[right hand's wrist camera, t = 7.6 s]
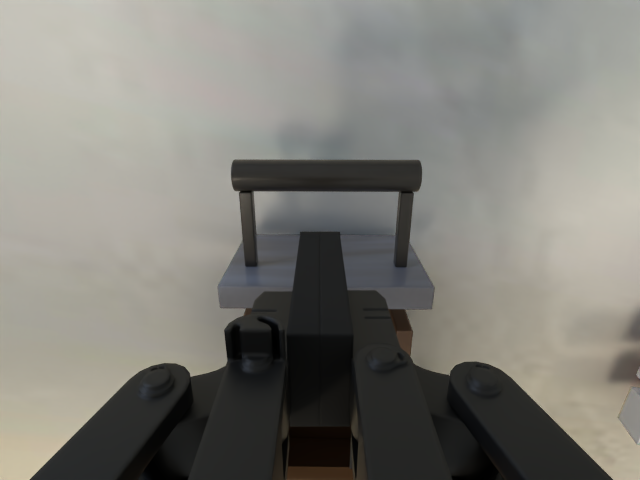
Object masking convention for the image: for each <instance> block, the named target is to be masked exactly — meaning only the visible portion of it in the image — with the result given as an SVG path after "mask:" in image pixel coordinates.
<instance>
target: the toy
mask: <svg viewBox="0 0 640 480" xmlns="http://www.w3.org/2000/svg"><path fill="white" fill-rule="evenodd" d="M636 375H637V377H638V378H639V379H640V367H639V370H638V372H637V374H636ZM618 419H619V420H620V422H621V423H622V424H623V426H624V427H625V429H626V430H627V431H628V433H629V434H630V436H631V437H632V439H633V440H634V441H635V443H636V444H637V445H640V388H637V387H631V388H630V390H629V392H628V395H627V397H626V399H625V402H624V404H623V406H622V409H621V411H620V413H619V415H618Z"/></svg>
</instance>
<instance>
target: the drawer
mask: <svg viewBox="0 0 640 480" xmlns="http://www.w3.org/2000/svg"><path fill="white" fill-rule="evenodd" d="M231 180H232V186H233V189H234V190H235V191H240V192H239V198H240V210H241V223H242V236H243V241H242V242H241V244H240V246H239V248H238V250H237V252H236V253H235V255H234V257H233V259H232V261H231V263H230V265H229V266H228V268H227V270H226V272H225V274H224V276H223V277H222V279H221V281H220V283H219V285H218V295H219V304H220V308H246V310H245V313H244V316H245V315H249V314H251V312H252V307H253V304H254V301H255V299H256V298H257V297H258V296H260V295H261V294H262V293H263V292H264V291H292V290H293V283H294V275H295V268H296V261H297V253H298V246H299V239H300V235H256V221H255V206H254V191H337V192H399V197H398V210H397V223H396V235H340V239H341V246H342V253H343V261H344V268H345V275H346V283H347V290H376V291H377V292H379V293H380V294H381V295H382V296H383V297H384V298H385V299H386V302H387V306H388V311H389V312H390V315H391V319H392V322H393V325H394V328H395V331H396V335H397V338H398V341H399V344H400V347H401V349H403V350H404V351H405V352H407V353H408V354H409V356H410V354H411V345H412V336H413V330H412V328H411V325H410V322H409V319H408V317H407V314H406V311H405V309H432V305H433V297H434V289H435V288H434V286H433V284H432V282H431V280H430V278H429V277H428V275H427V273H426V271H425V269H424V268H423V266H422V264H421V262H420V260H419V259H418V257H417V255H416V253H415V251H414V249H413V248H412V246H411V244H410V242H409V238H410V227H411V217H412V206H413V195H414V194H413V192H417V191H419V189H420V186H421V181H422V166H421V162H420V161H419V160H233V162H232V167H231ZM350 447H351V421H350V427H290V423H289V458H288V466H292V467H350Z"/></svg>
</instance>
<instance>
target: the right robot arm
mask: <svg viewBox="0 0 640 480" xmlns="http://www.w3.org/2000/svg"><path fill="white" fill-rule="evenodd" d="M224 332H225V341H226V351H227V360H228V361H227V364H226V366H225V367H223V368H221V369H219V370H216V371H213V372H210V373H206V374H202V375H198V376H193V377H190V373H189V372H188V370H187V369H186V368H185V367H183V366H181V365H178V364H172V363H163V364H159V365H154V366H151V367H148V368H146V369H144V370H142V371H140V372H138V373H137V374H136V375H135V376H133V377H132V378H131V379H129V380H128V381H127V382H126V383H125V384H124V385H123V386H122V387H121V388H120V390H119V391H118V392H117V393H116V394H115V395H114V396H113V397H112V398H111V399H110V400H109V401H108V402H107V403H106V404H105V405H104V406H103V407H102V408H101V409H100V410H99V411H98V412H97V413H96V414H95V415H94V416H93V417H92V418H91V419H90V420H89V421H88V422H87V423H86V424H85V425H84V426H83V427H82V428H81V429H80V430H79V431H78V432H77V433H76V434H75V435H74V436H73V437H72V438H71V439H70V440H69V441H68V442H67V443H66V444H65V445H64V446H63V447H62V448H61V449H60V450H59V451H58V452H57V453H56V454H55V455H54V456H53V457H52V458H51V459H50V460H49V461H48V462H47V463H46V464H45V465H44V466H43V467H42V468H41V469H40V470H39V471H38V472H37V473H36V474H35V475H34V476H33V477H32V478H31V479H30V480H287V470H288V458H289V423H290V427H350V421H351V447H350V469H352V470H353V480H613V479H612V478H611V477H610V476H609V475H608V474H607V473H606V472H605V471H604V470H603V469H602V468H601V467H600V466H599V465H598V464H597V463H596V462H595V461H594V460H593V459H592V458H591V457H590V456H589V455H588V454H587V453H586V452H585V451H584V450H583V449H582V448H581V447H580V446H579V445H578V444H577V443H576V442H575V441H574V440H573V439H572V438H571V437H570V436H569V435H568V434H567V433H566V432H565V431H564V430H563V429H562V428H561V427H560V426H559V425H558V424H557V423H556V422H555V421H554V420H553V419H552V418H551V417H550V416H549V415H548V414H547V413H546V412H545V411H544V410H543V409H542V408H541V407H540V406H539V405H538V404H537V403H536V402H535V401H534V400H533V399H532V398H531V397H530V396H529V395H528V394H527V393H526V392H525V391H524V390H523V389H522V388H521V387H520V386H519V385H518V384H517V383H516V382H515V381H514V380H513V379H512V378H511V377H509V376H508V375H507V374H505V373H504V372H503V371H501V370H500V369H498V368H495V367H493V366H491V365H489V364H484V363H480V362H463V363H461V364H458V365H456V366H455V367H454V368H453V369H452V370H451V373H450V376H449V375H445V374H440V373H436V372H432V371H429V370H425V369H423V368H421V367H418V366H416V365H415V364H413V361H412V359H411V357H410V356H409V354H408V353H407V352H405V351H404V350H403V349H401V347H400V344H399V341H398V338H397V335H396V331H395V328H394V325H393V322H392V319H391V315H390V312H389V311H388V306H387V302H386V299H385V298H384V297H383V296H382V295H381V294H380V293H379V292H377V291H376V290H347V283H346V275H345V268H344V261H343V253H342V246H341V239H340V232H300V239H299V246H298V253H297V261H296V268H295V275H294V283H293V290H292V291H264V292H263V293H262V294H261V295H260V296H258V297H257V298H256V299H255V301H254V304H253V307H252V312H251V314H249V315H245V316H242V317H239V318H237V319H235V320H234V321H232V322H231V323H229V324H228V326H227V327H226V328H225V330H224Z"/></svg>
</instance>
